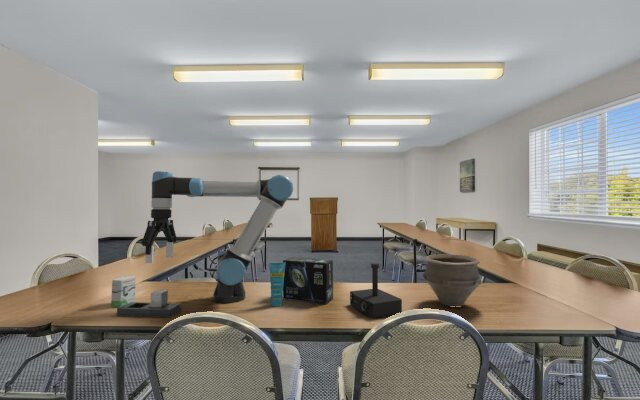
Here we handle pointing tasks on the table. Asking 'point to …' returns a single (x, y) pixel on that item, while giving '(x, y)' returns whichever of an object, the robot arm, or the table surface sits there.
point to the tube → (277, 282)
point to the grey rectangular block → (159, 299)
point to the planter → (452, 277)
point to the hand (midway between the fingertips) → (159, 260)
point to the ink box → (123, 291)
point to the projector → (375, 299)
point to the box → (308, 280)
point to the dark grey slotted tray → (148, 310)
